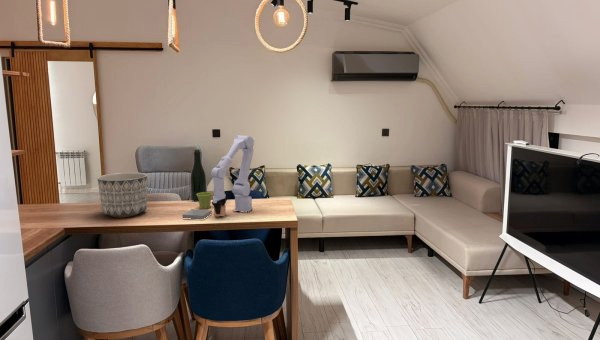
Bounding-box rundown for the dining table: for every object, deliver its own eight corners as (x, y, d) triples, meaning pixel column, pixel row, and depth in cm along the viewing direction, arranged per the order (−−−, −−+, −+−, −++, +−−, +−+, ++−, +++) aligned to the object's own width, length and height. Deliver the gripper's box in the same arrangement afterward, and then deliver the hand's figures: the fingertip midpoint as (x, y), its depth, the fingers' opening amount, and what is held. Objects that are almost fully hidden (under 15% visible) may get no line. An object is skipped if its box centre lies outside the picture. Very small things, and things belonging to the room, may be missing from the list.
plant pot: (194, 209, 262) (193, 194, 261) (202, 205, 271) (201, 191, 270) (208, 210, 260) (207, 195, 258) (215, 206, 268) (215, 192, 267)
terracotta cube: (225, 214, 248) (225, 205, 247) (222, 216, 243) (222, 207, 242) (217, 213, 249) (217, 205, 248) (214, 216, 244) (213, 207, 243)
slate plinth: (211, 215, 250) (211, 210, 250) (203, 221, 238) (203, 215, 238) (192, 214, 252) (191, 209, 252) (182, 219, 241) (182, 214, 240)
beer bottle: (188, 201, 281) (186, 150, 276) (193, 198, 291) (190, 148, 286) (205, 201, 281) (203, 150, 275) (208, 198, 291) (207, 148, 286)
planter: (101, 210, 259) (98, 174, 255) (148, 206, 268) (146, 171, 264) (98, 222, 235) (95, 181, 231) (150, 217, 244) (148, 178, 240)
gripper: (217, 186, 251) (217, 209, 253) (207, 191, 237) (208, 215, 239) (228, 186, 250) (229, 209, 252) (219, 191, 236) (220, 216, 238)
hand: (219, 212), depth 246 cm, fingers closed on terracotta cube, 5 cm apart
